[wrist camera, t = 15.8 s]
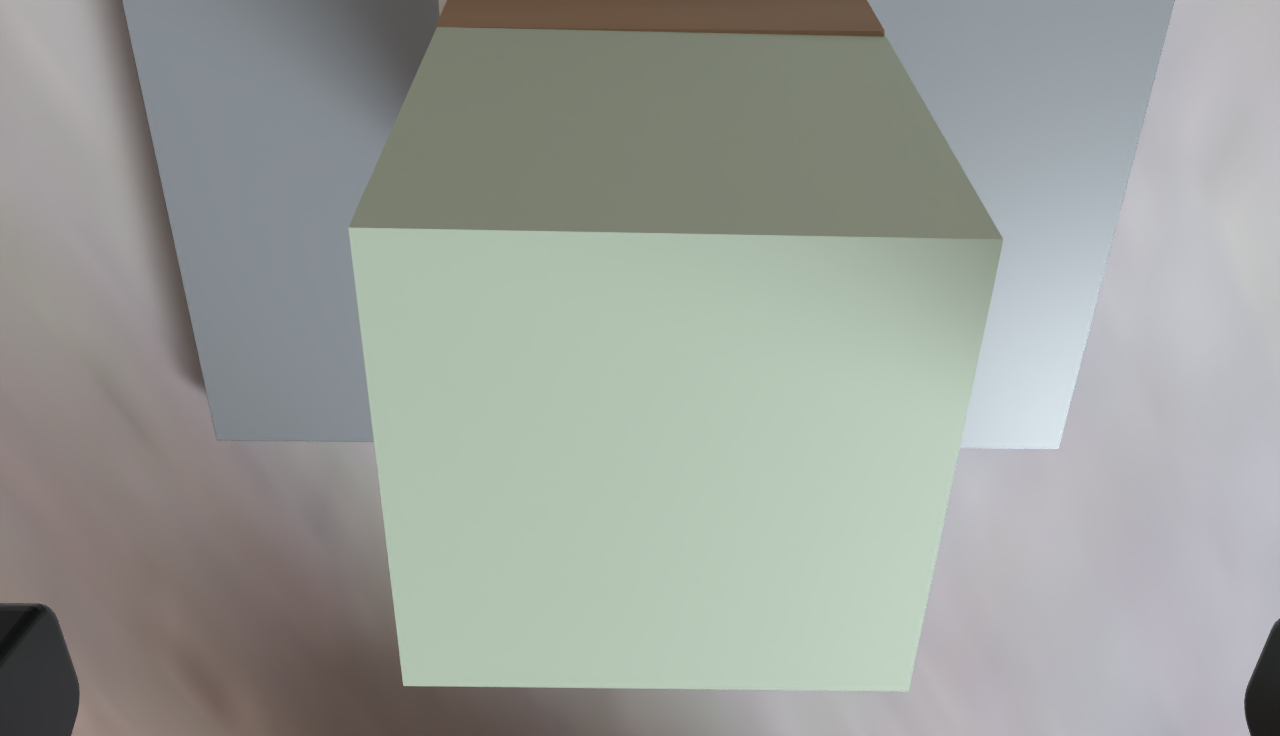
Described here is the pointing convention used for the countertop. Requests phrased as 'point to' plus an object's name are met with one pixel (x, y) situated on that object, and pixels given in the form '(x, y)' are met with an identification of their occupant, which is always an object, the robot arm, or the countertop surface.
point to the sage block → (666, 358)
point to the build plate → (377, 87)
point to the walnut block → (669, 16)
